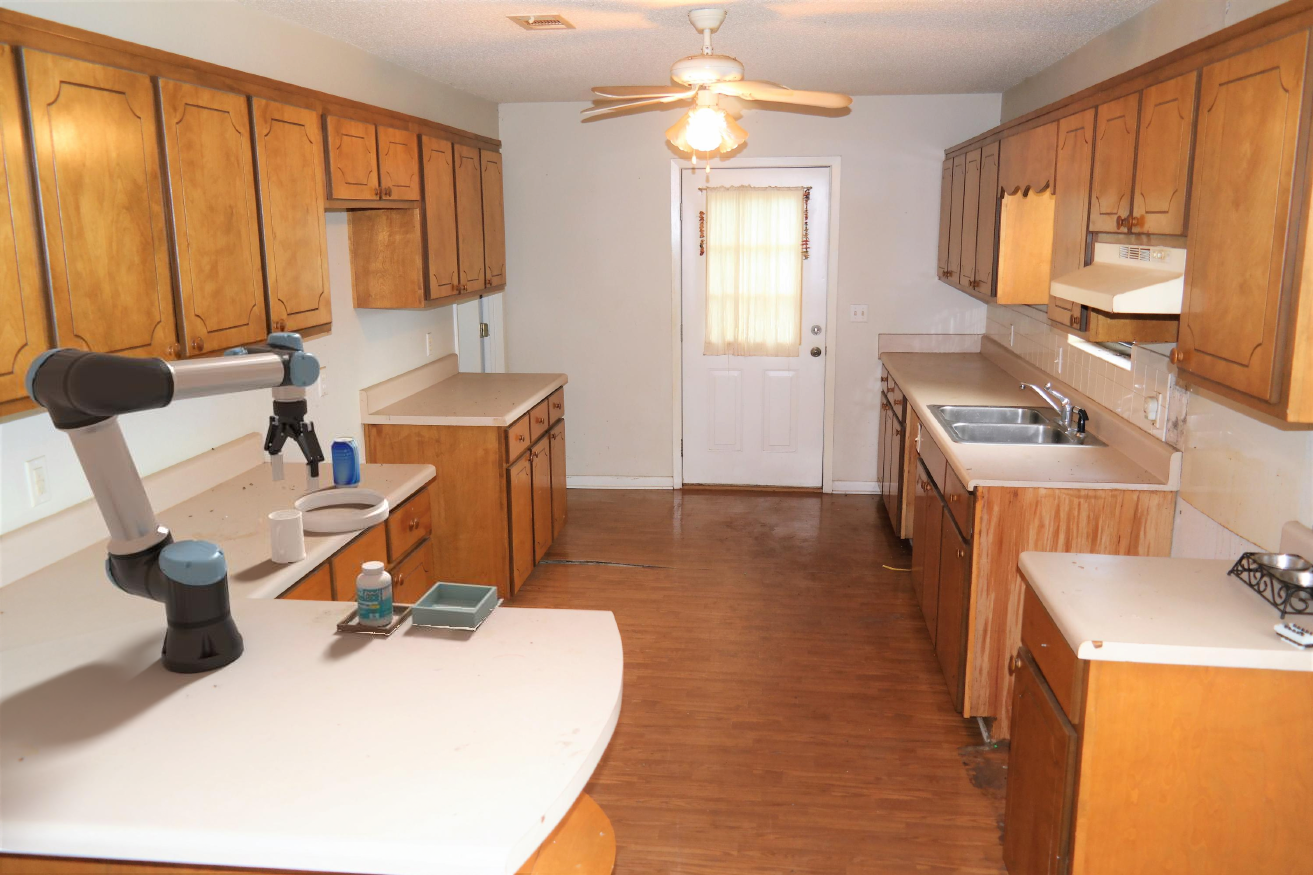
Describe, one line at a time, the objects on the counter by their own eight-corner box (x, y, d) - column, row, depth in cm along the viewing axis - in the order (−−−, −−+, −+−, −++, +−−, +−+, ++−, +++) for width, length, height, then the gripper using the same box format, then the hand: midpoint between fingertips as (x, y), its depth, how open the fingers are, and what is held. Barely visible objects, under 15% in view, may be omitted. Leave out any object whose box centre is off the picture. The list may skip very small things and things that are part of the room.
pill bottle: (351, 625, 204) (347, 568, 201) (372, 612, 211) (368, 556, 208) (380, 631, 202) (376, 573, 199) (400, 617, 209) (397, 561, 205)
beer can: (329, 488, 303) (325, 441, 299) (341, 481, 311) (338, 435, 308) (353, 490, 302) (349, 442, 298) (365, 482, 310) (362, 436, 306)
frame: (389, 635, 200) (389, 629, 199) (337, 630, 202) (336, 624, 201) (413, 612, 211) (413, 606, 211) (363, 607, 213) (363, 601, 213)
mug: (291, 569, 236) (287, 524, 233) (259, 567, 236) (254, 523, 233) (311, 552, 247) (308, 509, 244) (280, 551, 248) (276, 508, 245)
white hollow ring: (335, 539, 258) (333, 521, 256) (273, 521, 272) (272, 504, 270) (408, 514, 280) (407, 496, 279) (347, 498, 294) (346, 482, 293)
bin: (475, 630, 202) (474, 612, 201) (412, 625, 205) (411, 607, 204) (497, 603, 216) (497, 586, 215) (438, 598, 219) (437, 581, 218)
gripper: (336, 402, 215) (342, 490, 219) (272, 390, 228) (278, 473, 233) (308, 407, 208) (314, 497, 213) (244, 394, 222) (251, 479, 227)
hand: (295, 485), depth 223 cm, fingers open, 13 cm apart
